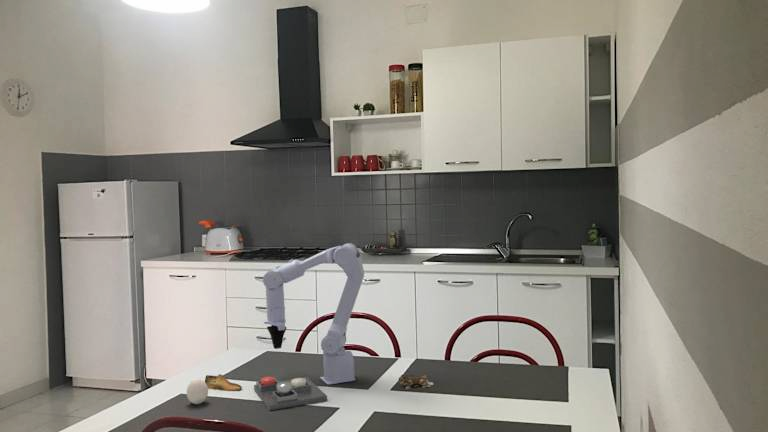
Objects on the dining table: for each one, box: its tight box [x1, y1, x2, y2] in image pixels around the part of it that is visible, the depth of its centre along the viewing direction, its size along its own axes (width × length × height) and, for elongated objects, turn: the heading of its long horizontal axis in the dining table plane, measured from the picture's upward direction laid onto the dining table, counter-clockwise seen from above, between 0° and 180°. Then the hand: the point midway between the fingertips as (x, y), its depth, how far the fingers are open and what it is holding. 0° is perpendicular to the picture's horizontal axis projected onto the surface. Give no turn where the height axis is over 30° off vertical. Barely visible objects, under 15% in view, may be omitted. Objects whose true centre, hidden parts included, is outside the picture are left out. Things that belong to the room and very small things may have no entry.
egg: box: [186, 377, 209, 405], centre depth 192 cm, size 6×6×8 cm
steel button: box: [277, 382, 292, 395], centre depth 189 cm, size 4×4×2 cm
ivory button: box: [291, 377, 306, 387], centre depth 198 cm, size 4×4×2 cm
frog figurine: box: [398, 374, 434, 390], centre depth 202 cm, size 12×12×4 cm
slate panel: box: [253, 376, 328, 411], centre depth 197 cm, size 17×21×3 cm
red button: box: [260, 376, 276, 386], centre depth 200 cm, size 4×4×2 cm
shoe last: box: [204, 373, 243, 392], centre depth 206 cm, size 4×14×5 cm, turn 64°
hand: (277, 348), depth 212 cm, fingers closed
